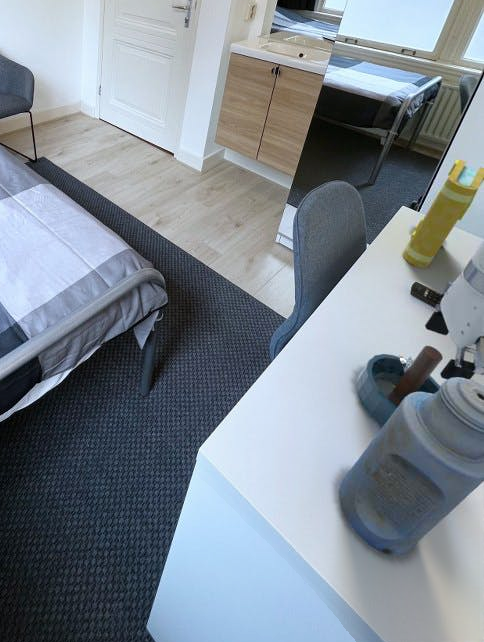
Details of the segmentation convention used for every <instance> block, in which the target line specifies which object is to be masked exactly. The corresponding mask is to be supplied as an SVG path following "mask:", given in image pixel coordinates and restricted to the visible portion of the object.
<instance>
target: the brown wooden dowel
mask: <svg viewBox="0 0 484 642" xmlns="http://www.w3.org/2000/svg"><path fill="white" fill-rule="evenodd" d="M443 359H444V357H443V354H442V352H440V351H439V350H438V349H437V348H435V347H433V346H430V345H425V346H423V348H422V349H421V350H420V352H419V353H418V354H417V356H416V357H415V359H413V360H414V361H413V363H412V364H411V365H410V367H409V368H408V370H407V371H406V372H405V374H404V375H403V376H402V378H401V379H400V381H399V382H398V383H397V384H396V386H395V387H393V388H392V390H391V391H390V393H389V394H388V395H387V397H386V398H387V399H388V400H389V401H390V402H391V403H392V404H394V405H395V406H396V407H398V406H399V405H400V403H401V402H402V401H403V399H404V398H405V397H406V396H408V395H409V394H411V393H414V392H417V391H418V390H419V388H420V387H421V386H422V385H423V383H424V382H425V381H426V380H427V378H428V377H429V376H431V375H432V373H433V372H434V371H435V369H436V368H437V367H438V365H439V364H440V363H441V362H442V360H443Z"/></svg>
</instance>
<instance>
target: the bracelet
mask: <svg viewBox="0 0 484 642" xmlns="http://www.w3.org/2000/svg"><path fill="white" fill-rule="evenodd" d="M397 357H399V358H400V362H401V365H402V367H403V371H404V374H405V372H406V371H407V370H408V368H409V367H410V365H411V364H412V363H413V361H414V360H415V359H413V357H412V356H406V357H404V356H402V355H400V354H399V355H398V356H397ZM396 385H397V384H395V383H393V382H392V387H393V388H394V387H395V386H396Z"/></svg>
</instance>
